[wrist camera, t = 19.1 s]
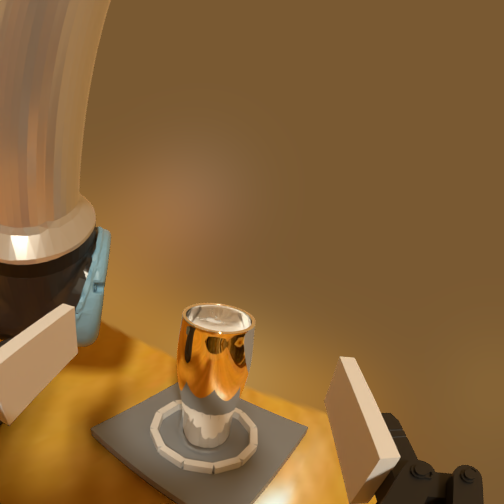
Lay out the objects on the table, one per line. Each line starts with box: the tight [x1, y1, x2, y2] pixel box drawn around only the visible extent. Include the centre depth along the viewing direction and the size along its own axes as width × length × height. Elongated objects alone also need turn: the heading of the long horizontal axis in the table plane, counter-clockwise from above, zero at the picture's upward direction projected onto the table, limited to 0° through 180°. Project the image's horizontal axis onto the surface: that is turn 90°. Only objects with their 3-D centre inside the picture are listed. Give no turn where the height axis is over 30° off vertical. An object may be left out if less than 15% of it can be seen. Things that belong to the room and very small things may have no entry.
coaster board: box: [91, 382, 308, 504], centre depth 31 cm, size 18×18×2 cm
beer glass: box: [177, 303, 256, 454], centre depth 29 cm, size 7×7×15 cm
